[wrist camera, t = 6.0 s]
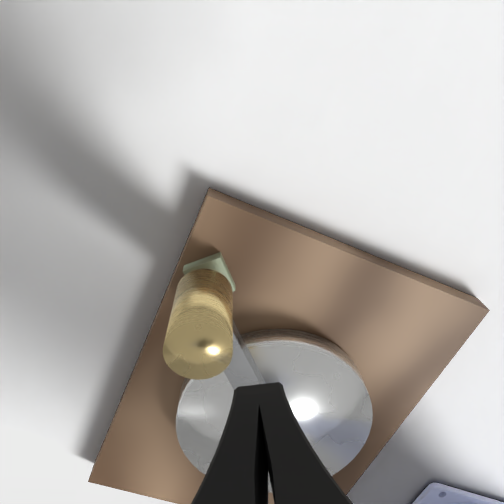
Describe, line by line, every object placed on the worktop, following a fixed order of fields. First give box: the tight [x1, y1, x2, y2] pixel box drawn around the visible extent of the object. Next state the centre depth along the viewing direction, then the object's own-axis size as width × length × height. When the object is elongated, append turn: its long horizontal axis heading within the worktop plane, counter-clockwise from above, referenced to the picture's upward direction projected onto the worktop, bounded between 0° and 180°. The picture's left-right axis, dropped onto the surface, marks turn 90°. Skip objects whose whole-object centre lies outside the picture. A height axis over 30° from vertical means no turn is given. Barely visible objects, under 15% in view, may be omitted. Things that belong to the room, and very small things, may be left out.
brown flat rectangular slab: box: [88, 188, 490, 504], centre depth 24 cm, size 15×19×2 cm
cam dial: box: [163, 268, 373, 493], centre depth 20 cm, size 15×10×5 cm
